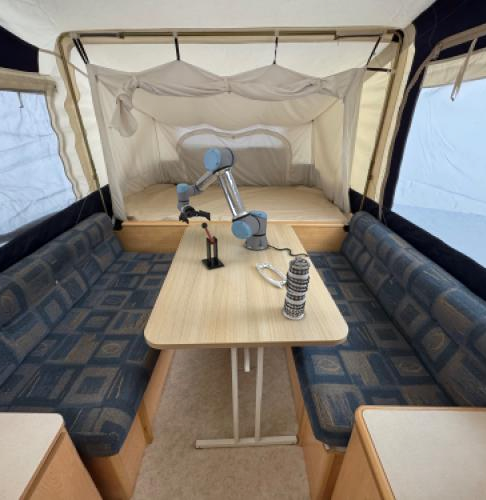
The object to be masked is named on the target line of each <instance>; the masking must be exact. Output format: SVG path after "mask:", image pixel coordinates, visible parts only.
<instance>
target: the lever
mask: <svg viewBox="0 0 486 500" xmlns="http://www.w3.org/2000/svg"><path fill="white" fill-rule="evenodd" d="M200 226H201V228H202V229H204V230H205V232H206V235H207V237H208V238H209V239H210V240H211V246H213V244H214V243H215V240H214V238H213V237H212V235H211V234H210V231H209V230H208V229H209V228H208V227H209V226H208V223H207V222H205V221H203V222H201V225H200Z"/></svg>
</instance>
